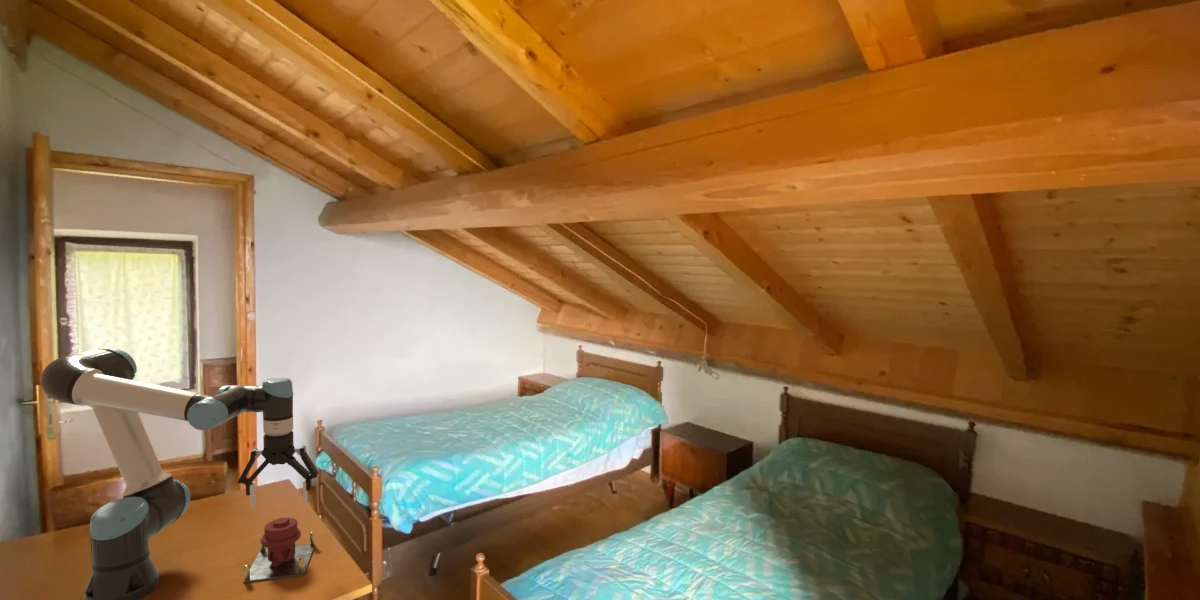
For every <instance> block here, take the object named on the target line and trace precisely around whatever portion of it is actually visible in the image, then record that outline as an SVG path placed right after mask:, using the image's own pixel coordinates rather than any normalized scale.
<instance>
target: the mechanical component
mask: <svg viewBox="0 0 1200 600" xmlns="http://www.w3.org/2000/svg"><path fill="white" fill-rule="evenodd" d="M263 528H264V529H263V530H264V533H263V535H262V536H261V537H262V538H261V544H262V545H263V546H265V548H266V549H268V560H269V561H270V562H272V567H276V566H278V565H280V564H282V563H285V562H288V561H292V560H294V559H295V546H296V542H297V541H299V539H300V538H301V537H302V536H301V535H302V534H301V533H302V532H301V531H302V530H301V529H300V527H298V520H297V519H296V518H293V517H279V518H277V519H274V520H272V521H270V522H269V521H268V523H266V524H265V526H264V527H263Z"/></svg>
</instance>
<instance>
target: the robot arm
mask: <svg viewBox="0 0 1200 600" xmlns="http://www.w3.org/2000/svg"><path fill="white" fill-rule="evenodd" d="M137 370H138V369H137V363H136V362H135V360H134V358H133V357H132V356H131V355H130V354H129V353H127V352H126V351H124V350H121V349H119V348H115V347H105V348H97V349H96V348H95V349H92V350H88V351H84V352H79V353H75V354H70V355H66V356H64V355H63V356H60V357H58V358H57V359H54V360H53V361H51V362H50V363H48V365H46V366H45V367H44V369H43V370H42V372H41V374H40V379H39V381H40V386H41V389H42V390H43V392H44V393H45V394H46V395H47V396H48V397H49V398H51V399H53V400H55V401H58V402H61V403H65V404H70V405H75V406H82V407H84V406H86V407H90V408H91V409H92V411H93V413H94V415H95V417H96V419H97V421H98V424H99V426H100V429H101V431H102V433H103V435H104V438H105V440H106V441H105V442H106V443H107V444H108V447H109V450H110V452H111V454H112V456H113V459H114V462H115V464H116V466H117V467H118V470H119V473H120V475H121V477H122V479H123V482H124V484H125V488H124V490H123V492H122V494H121V496H122V497H123V498H119V499H117V500H115V501H110V502H108V503H106V504H104V505H102V506H101V507H99V508H98V509H96V511H94V513H93V514H92V515H91V517H90V520H89V521H90V522H89V529H88V530H89V531H88V532H89V536H90V537H89V539H90V553H91V555H90V557H91V567H92V568H91V574H90V576H89V579H88V582H87V585H86V588H85V590H84V594H83V595H84V596H83V597H84V600H140V599H141V598H144V597H145V596H147V595H148V594H150V593H151V592H153V591H154V590H155V589H156V588H157V587H158V585H159V583H160V574H159V573H160V572H159V570H158V568H157V566H156V564H154V561H153V559H152V558H151V555H150V539H151V538H153V537H154V536H155V535H157V534H158V533H160V532H161V531H163V530H164V529H165V528H167V527H168V526H170V525H172V524H174V523H175V522H176V521H177V520H179V519H180V518H181V517H182V516H183V515H184V514H185V513H186V512H187V510H188V508H189V506H190V504H191V493H190V490H189V488H188V487H187V485H186V484H185V483H184V482H181V481H180V480H178V479H174V478H173V474H172V473H169V472H165V471H164V470H163V468H162V466H161V464H160V461H159V459H158V457H157V454H156V452H155V450H154V447H153V445H152V442H151V440H150V437H149V435H148V432H147V430H146V428H145V426H144V423H143V421H142V419H141V417H140V414H139V413H141V414H146V415H153V416H157V417H158V416H159V417H162V418H167V419H168V418H169V419H174V420H180V421H184V422H188V424H189V425H190V426H192V428H194V429H195V430H198V431H208V430H211V429H214V428H217V427H219V426H222V424H224V423H226V422H228V421H229V420H231V419H233V418H235V417H237V416H240V415H242V414H244V413H262V427H263V429H262V430H263V433H264V434H263V437H262V438H263V449H258V448H254V449H253V450H252V451H251V452H250V458H249V460H248V462H247V464H246V465H245V468H244V469H243V470H242V473H241V475H240V476H239V479H238V481H237V483H238V484H239V485H240V484H244V485H245V495H246V496H249V508H254V507H255V505H256V504H257V487H256V486H257V485H256V483H257V482H256V481H255V479H256V478H257V477H258V476H259V475H260V474H261V473H262V472H263V470H264V469H265V468H266V467H267V466H268V464H270V465H271V466H277V465H285V464H287V465H288V466H290V467H291V468H293V469H294V470H295V471H296V472H297V473H298V474H299V475H300V476H301V477H302V478H303V481H302V504H306V503H307V502H308V500H309V494H308V493H309V491H311V489H312V480H313V479H316V478H317V477H318V475H319V471H318V469H317V467H316V466H315V463H313V461H312V459H311V458H310V455H309V454H308V453H307V446H306V445H302V446H301V447H300V446H299V447H295V445H294V443H295V442H294V431H293V429H294V413H293V412H294V390H293V381H292V380H291V379H290V378H288V377H269V378H266V379H264V380H263V381H262V383H261V384H262V385H248V384H247V385H242V384H241V385H239V384H232V385H231V384H230V385H223V386H220V387H219V389H218V390H217V391H216V392H215V394H214V395H210V394H206V393H199V392H196V391H190V390H184V389H181V388H175V387H170V386H165V385H158V384H155V383H149V382H144V381H139V380H138V381H137V380H134V378H135V377H136V374H137V373H138V372H137ZM294 454H297V455H298V456H299V457H300V458H301V461H302V462H303V463H304V465H302V464H301V463H300V462H299V461H298V460H297V458H296V457H295V456H294ZM260 456H262V457H263V458H264V459H265V460H264V461H263V462H262V463H261V464H260V466H259V467H258V468H257V469H256V470H255V471H254V472H253V473H252V474H251V476H250V477H247V476H248V475H249V473H250V472H251V469H252V467H253V465H254V464H255V461H256V460H257V459H259V457H260ZM304 466H305V467H306V468H305V467H304Z"/></svg>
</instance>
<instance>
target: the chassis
mask: <svg viewBox="0 0 1200 600" xmlns="http://www.w3.org/2000/svg"><path fill="white" fill-rule="evenodd" d="M315 535H316V532H315V531H313V530H312V531H310V532H309V543H308V544H298V545H295V559H294V560H292V561H288V562H285V563H282V564H280V565H278V566H276V567H272V562H270V561H269V560H268V548H266V547H265V546H263V545H262V544H261V538H262V536H261V537H259V552H258V554H257V556H256V558H255V559H254V561H253V563H252V564H251V565H250V564H249V563H248V564H244V565H243V583H244V584H245V583H253V582H261V581H262V582H263V581H268V580H270V581H271V580H277V579H284V578H291V577H300V576H304V575H306V571H307V568H308V566H309V563H310V560H311V557H312V554H313V552H314V550H315V546H316V536H315ZM250 566H251V567H250Z"/></svg>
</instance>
